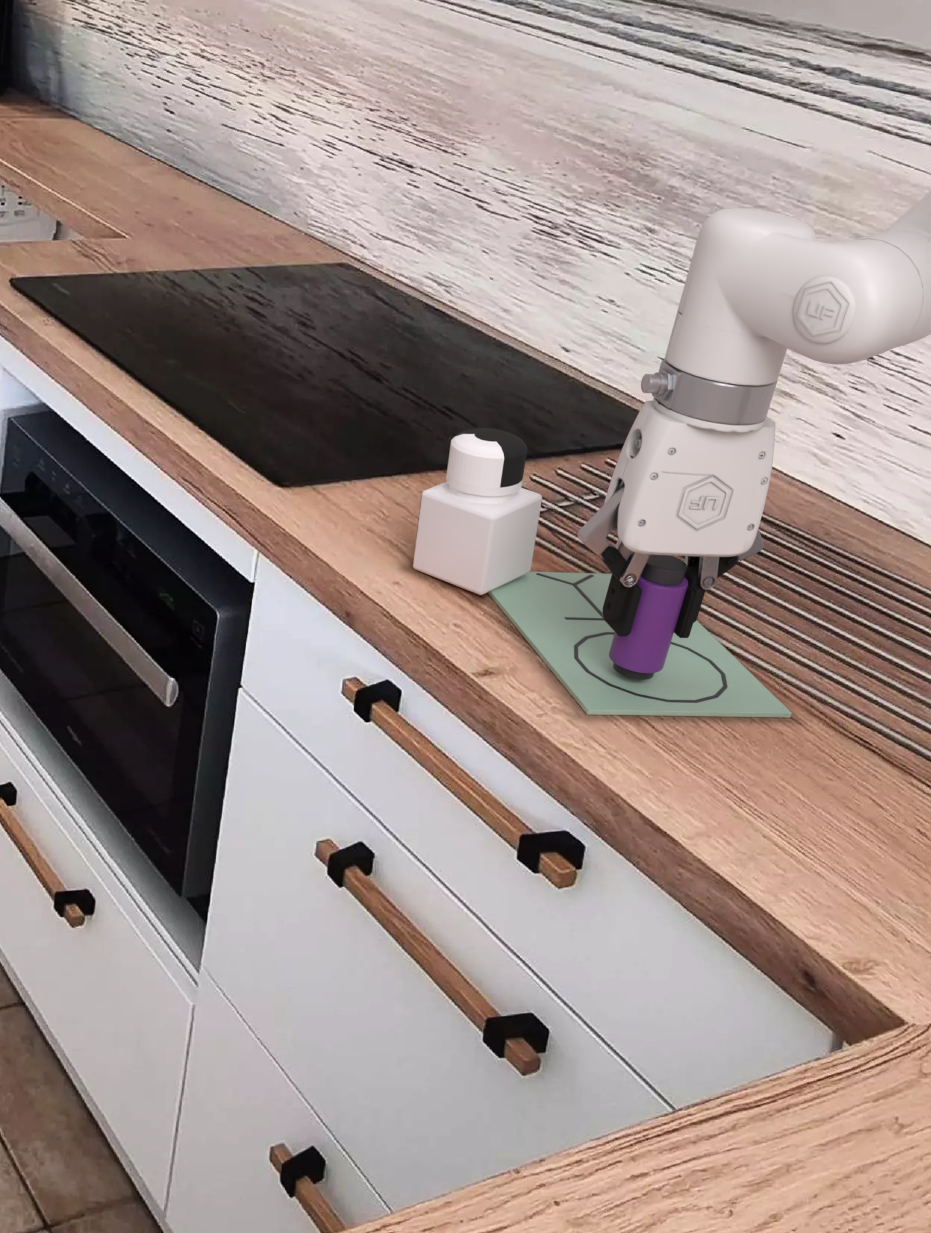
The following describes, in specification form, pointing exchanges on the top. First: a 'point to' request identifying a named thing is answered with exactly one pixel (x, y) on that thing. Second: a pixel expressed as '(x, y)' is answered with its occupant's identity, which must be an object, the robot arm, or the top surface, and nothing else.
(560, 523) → the top surface
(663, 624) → the cylinder
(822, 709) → the top surface
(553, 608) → the sketch card
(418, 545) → the medicine bottle
